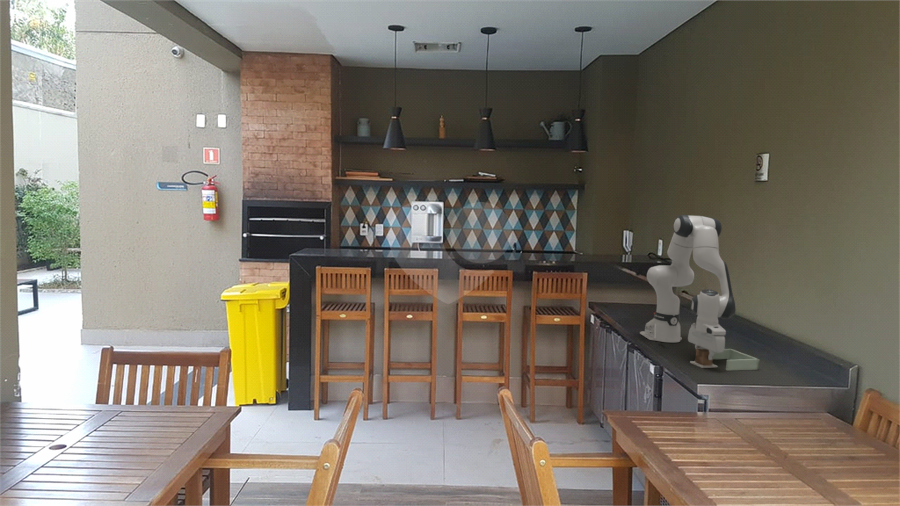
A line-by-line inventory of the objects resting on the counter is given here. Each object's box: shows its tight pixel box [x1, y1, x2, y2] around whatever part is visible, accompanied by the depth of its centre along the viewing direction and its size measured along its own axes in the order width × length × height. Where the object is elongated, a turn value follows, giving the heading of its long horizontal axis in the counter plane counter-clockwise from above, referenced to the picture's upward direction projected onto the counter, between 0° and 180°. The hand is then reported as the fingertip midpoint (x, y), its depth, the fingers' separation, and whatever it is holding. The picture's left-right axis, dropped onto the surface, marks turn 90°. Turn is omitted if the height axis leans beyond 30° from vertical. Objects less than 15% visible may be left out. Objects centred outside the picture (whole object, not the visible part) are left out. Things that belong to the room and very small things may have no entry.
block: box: [694, 348, 714, 365], centre depth 260 cm, size 5×5×6 cm
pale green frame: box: [713, 348, 760, 372], centre depth 263 cm, size 18×16×4 cm
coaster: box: [689, 360, 718, 369], centre depth 260 cm, size 8×8×1 cm
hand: (704, 357), depth 260 cm, fingers open, 6 cm apart
